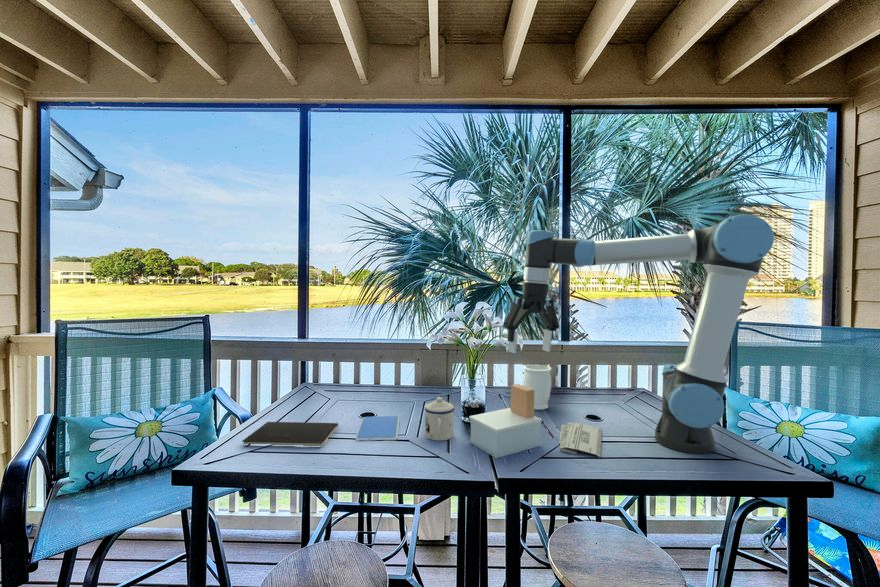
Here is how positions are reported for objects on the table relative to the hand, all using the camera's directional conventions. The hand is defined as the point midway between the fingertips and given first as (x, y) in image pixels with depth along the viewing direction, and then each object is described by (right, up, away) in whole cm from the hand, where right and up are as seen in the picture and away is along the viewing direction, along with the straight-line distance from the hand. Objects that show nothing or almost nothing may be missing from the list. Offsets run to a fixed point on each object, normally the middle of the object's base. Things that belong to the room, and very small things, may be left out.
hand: (529, 351), depth 123 cm
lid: (-8, -19, -6) cm, 22 cm away
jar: (+9, -25, +29) cm, 40 cm away
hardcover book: (-72, -27, 0) cm, 77 cm away
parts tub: (-8, -26, -6) cm, 28 cm away
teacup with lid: (-28, -26, -1) cm, 38 cm away
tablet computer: (-47, -26, +6) cm, 54 cm away
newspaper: (+14, -27, -3) cm, 31 cm away
